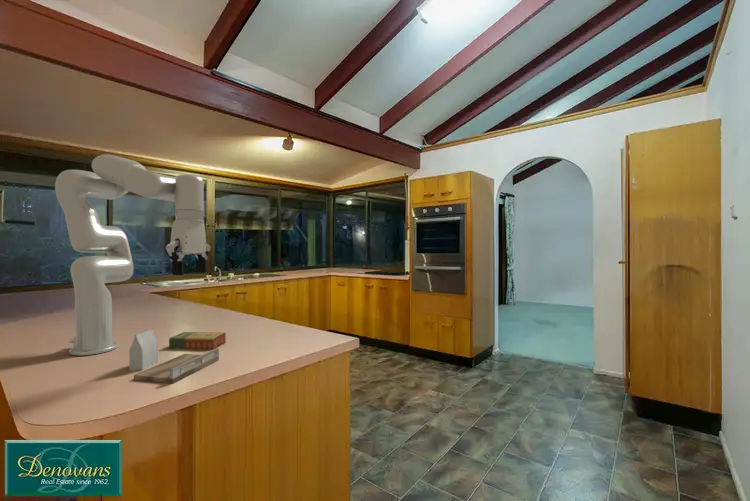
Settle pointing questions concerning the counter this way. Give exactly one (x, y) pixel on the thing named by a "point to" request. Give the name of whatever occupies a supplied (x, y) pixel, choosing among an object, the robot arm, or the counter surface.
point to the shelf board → (178, 367)
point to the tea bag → (143, 351)
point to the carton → (197, 340)
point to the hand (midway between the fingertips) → (190, 273)
